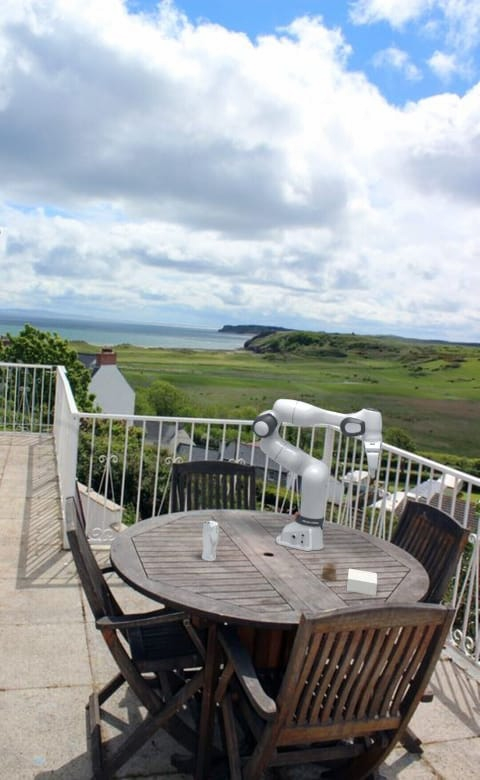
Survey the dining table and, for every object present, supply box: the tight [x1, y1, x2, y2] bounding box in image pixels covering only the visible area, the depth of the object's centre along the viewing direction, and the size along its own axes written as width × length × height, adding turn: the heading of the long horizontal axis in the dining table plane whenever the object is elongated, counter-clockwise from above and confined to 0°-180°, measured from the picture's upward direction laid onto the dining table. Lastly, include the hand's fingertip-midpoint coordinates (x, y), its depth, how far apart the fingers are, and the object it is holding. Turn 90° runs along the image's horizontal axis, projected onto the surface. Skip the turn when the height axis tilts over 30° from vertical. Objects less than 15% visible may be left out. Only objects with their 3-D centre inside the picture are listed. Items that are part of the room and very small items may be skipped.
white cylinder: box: [201, 520, 220, 562], centre depth 237 cm, size 7×7×15 cm
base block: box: [346, 568, 378, 596], centre depth 221 cm, size 11×11×5 cm
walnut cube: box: [321, 562, 337, 582], centre depth 228 cm, size 5×5×5 cm
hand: (372, 475), depth 252 cm, fingers open, 8 cm apart
